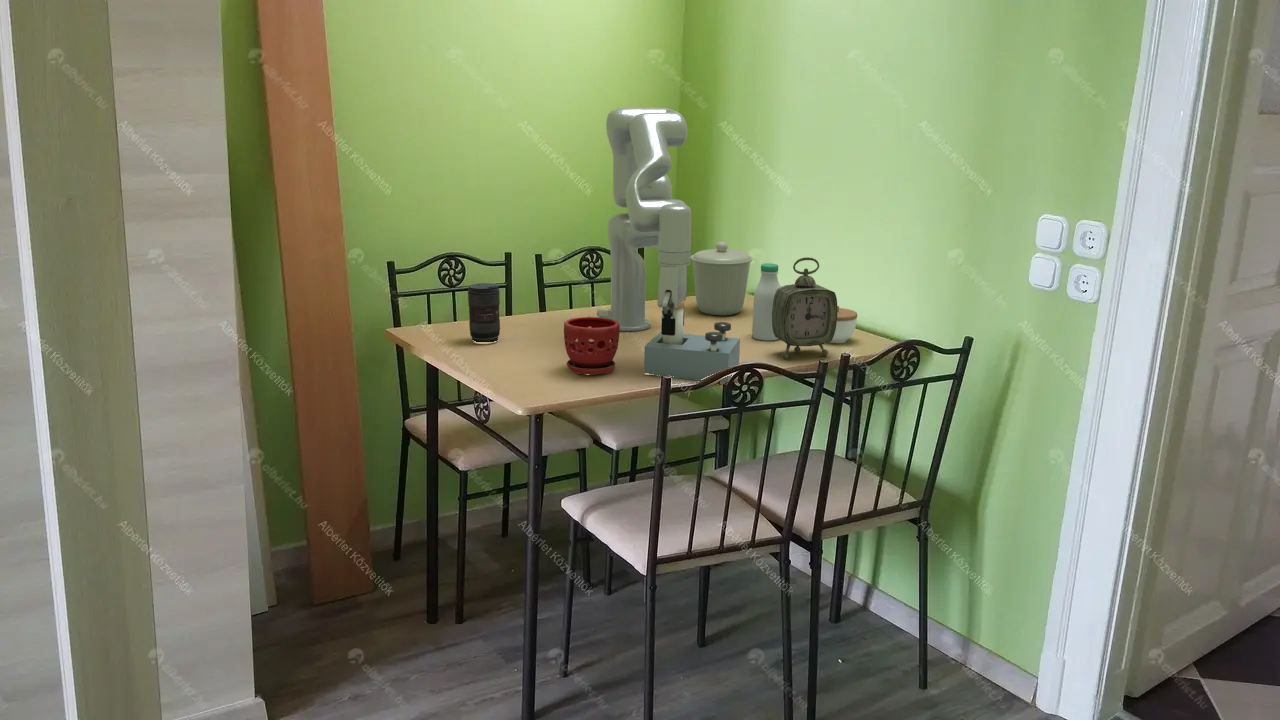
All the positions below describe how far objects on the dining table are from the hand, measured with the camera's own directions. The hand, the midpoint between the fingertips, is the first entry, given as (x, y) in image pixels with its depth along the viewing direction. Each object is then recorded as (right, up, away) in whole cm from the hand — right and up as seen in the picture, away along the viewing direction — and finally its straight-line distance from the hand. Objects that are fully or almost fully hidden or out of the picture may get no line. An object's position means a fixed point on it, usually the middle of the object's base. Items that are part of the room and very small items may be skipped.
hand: (672, 330), depth 238 cm
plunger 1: (+9, -8, -6) cm, 13 cm away
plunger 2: (+12, -5, +3) cm, 14 cm away
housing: (+5, -10, +1) cm, 11 cm away
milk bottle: (+26, -1, +32) cm, 41 cm away
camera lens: (-48, -2, +25) cm, 55 cm away
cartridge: (0, -6, +2) cm, 7 cm away
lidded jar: (+44, -2, +30) cm, 53 cm away
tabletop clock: (+33, -6, +16) cm, 37 cm away
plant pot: (-19, -10, +1) cm, 22 cm away
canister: (+16, +7, +59) cm, 62 cm away
